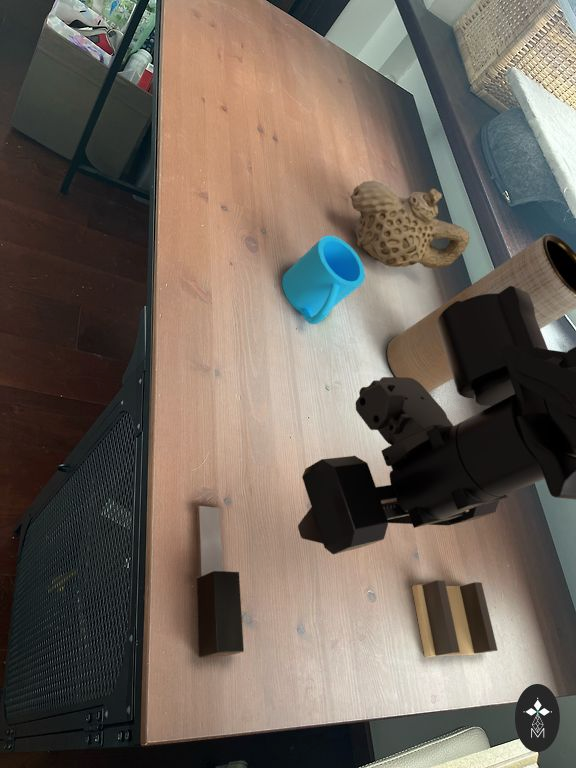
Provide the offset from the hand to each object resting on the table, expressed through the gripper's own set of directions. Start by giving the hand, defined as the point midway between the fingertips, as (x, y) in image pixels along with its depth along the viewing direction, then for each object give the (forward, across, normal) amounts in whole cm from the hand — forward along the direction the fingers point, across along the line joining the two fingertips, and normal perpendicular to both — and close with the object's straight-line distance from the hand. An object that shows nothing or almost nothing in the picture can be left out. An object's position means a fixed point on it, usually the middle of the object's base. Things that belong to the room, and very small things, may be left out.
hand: (340, 523), depth 53 cm
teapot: (+14, -41, -46) cm, 63 cm away
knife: (+14, +5, 0) cm, 15 cm away
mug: (+14, -20, -33) cm, 41 cm away
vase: (+14, -38, -24) cm, 47 cm away
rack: (+15, -26, +12) cm, 32 cm away
